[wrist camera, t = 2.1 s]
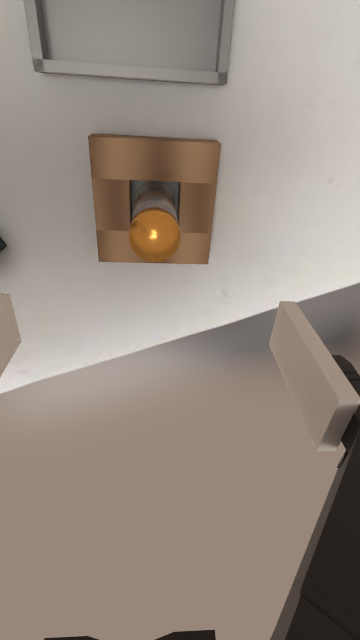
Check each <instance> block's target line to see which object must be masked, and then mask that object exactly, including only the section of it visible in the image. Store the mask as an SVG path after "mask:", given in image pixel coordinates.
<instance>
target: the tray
mask: <svg viewBox="0 0 360 640" xmlns="http://www.w3.org/2000/svg"><path fill="white" fill-rule="evenodd" d="M24 5H25V11H26V18H27V25H28V31H29V38H30V45H31V52H32V58H33V65H34V71H37V72H41V73H50V74H65V75H79V76H94V77H108V78H123V79H137V80H152V81H167V82H181V83H196V84H210V85H225V84H226V82H227V73H228V63H229V54H230V44H231V35H232V25H233V16H234V7H235V0H24Z"/></svg>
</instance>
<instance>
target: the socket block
mask: <svg viewBox="0 0 360 640" xmlns="http://www.w3.org/2000/svg"><path fill="white" fill-rule="evenodd" d="M88 139H89V150H90V162H91V174H92V186H93V197H94V209H95V221H96V232H97V244H98V256H99V262H136V263H177V264H208V259H209V250H210V241H211V231H212V222H213V213H214V203H215V194H216V185H217V175H218V166H219V157H220V147H221V143H219V142H218V141H216V140H200V139H182V138H164V137H146V136H128V135H109V134H92V135H90V136H88ZM131 180H141V181H164V182H179V190H178V210H177V220H178V226H179V231H180V244H179V247H178V249H177V251H176V252H175V254H174V255H173V256H171V257H170V258H169V259H167V260H165V261H161V262H149V261H146V260H143V259H142V258H140V257H139V256H137V255H136V254H135V252H134V251H133V250H132V248H131V245H130V242H129V232H130V227H131V222H132V196H131Z"/></svg>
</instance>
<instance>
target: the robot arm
mask: <svg viewBox="0 0 360 640" xmlns="http://www.w3.org/2000/svg"><path fill="white" fill-rule="evenodd" d="M20 342H21V338H20V334H19V330H18V326H17V322H16V318H15V314H14V310H13V306H12V302H11V298H10V294H0V377H1V375H2V373H3V372H4V370H5V368H6V366H7V365H8V363H9V361H10V359H11V358H12V356H13V354H14V353H15V351H16V349H17V347H18V346H19V344H20ZM269 346H270V349H271V351H272V353H273V355H274V357H275V360H276V362H277V364H278V366H279V369H280V371H281V373H282V375H283V377H284V380H285V382H286V384H287V386H288V389H289V391H290V393H291V395H292V397H293V400H294V402H295V404H296V406H297V408H298V411H299V413H300V415H301V417H302V420H303V422H304V424H305V426H306V428H307V431H308V433H309V435H310V437H311V439H312V442H313V444H314V446H315V448H316V451H336V450H337V448H338V446H339V444H340V442H341V441H342V443H343V445H344V447H345V448H346V451H345V453H344V455H343V457H342V459H341V461H340V463H339V464H338V467H337V468H338V470H337V473H336V475H335V478H334V481H333V483H332V485H331V488H330V491H329V493H328V496H327V498H326V501H325V503H324V506H323V508H322V511H321V513H320V516H319V519H318V521H317V524H316V526H315V529H314V531H313V534H312V536H311V539H310V541H309V544H308V546H307V549H306V552H305V554H304V557H303V559H302V562H301V564H300V567H299V569H298V572H297V575H296V577H295V579H294V582H293V584H292V587H291V590H290V592H289V595H288V597H287V600H286V602H285V605H284V607H283V610H282V613H281V615H280V617H279V620H278V622H277V625H276V628H275V630H274V632H273V634H272V637H271V639H270V640H360V375H359V374H357V371H356V370H355V368H354V367H353V366H352V364H351V363H350V362H348V361H347V360H346V359H345V358H343V357H342V356H340V355H331V354H330V353H329V351H328V350H327V348H326V347H325V346H324V344H323V342H322V341H321V339H320V338H319V337H318V335H317V334H316V332H315V331H314V329H313V328H312V326H311V325H310V323H309V322H308V321H307V319H306V317H305V316H304V314H303V313H302V312H301V310H300V309H299V307H298V306H297V304H296V303H295V302H289V301H280V303H279V307H278V312H277V315H276V319H275V323H274V327H273V331H272V335H271V339H270V342H269ZM44 640H98V639H95V638H92V637H88V636H82V637H81V636H80V637H60V638H45V639H44ZM156 640H216V639H215V630H205V631H204V630H203V631H183V632H173V633H171V634H168V635H165V636H163V637H161V638H158V639H156Z"/></svg>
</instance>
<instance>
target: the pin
mask: <svg viewBox="0 0 360 640" xmlns="http://www.w3.org/2000/svg"><path fill="white" fill-rule="evenodd" d="M129 242H130V245H131V248H132V250H133V251H134V252H135V254H136V255H137V256H139V257H140V258H142V259H143V260H146V261H149V262H161V261H165V260H167V259H169V258H170V257H171V256H173V255H174V254H175V252H176V251H177V249H178V247H179V244H180V231H179V226H178V220H177V215H176V210H175V204H174V199H173V194H172V192H171V190H170V188H169V187H168V186H167V185H166V184H165V183H163V182H161V181H148V182H146V183H144V184H143V185H142V186H141V187H140V188H139V190H138V192H137V196H136V201H135V206H134V211H133V217H132V222H131V227H130V232H129Z"/></svg>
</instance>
